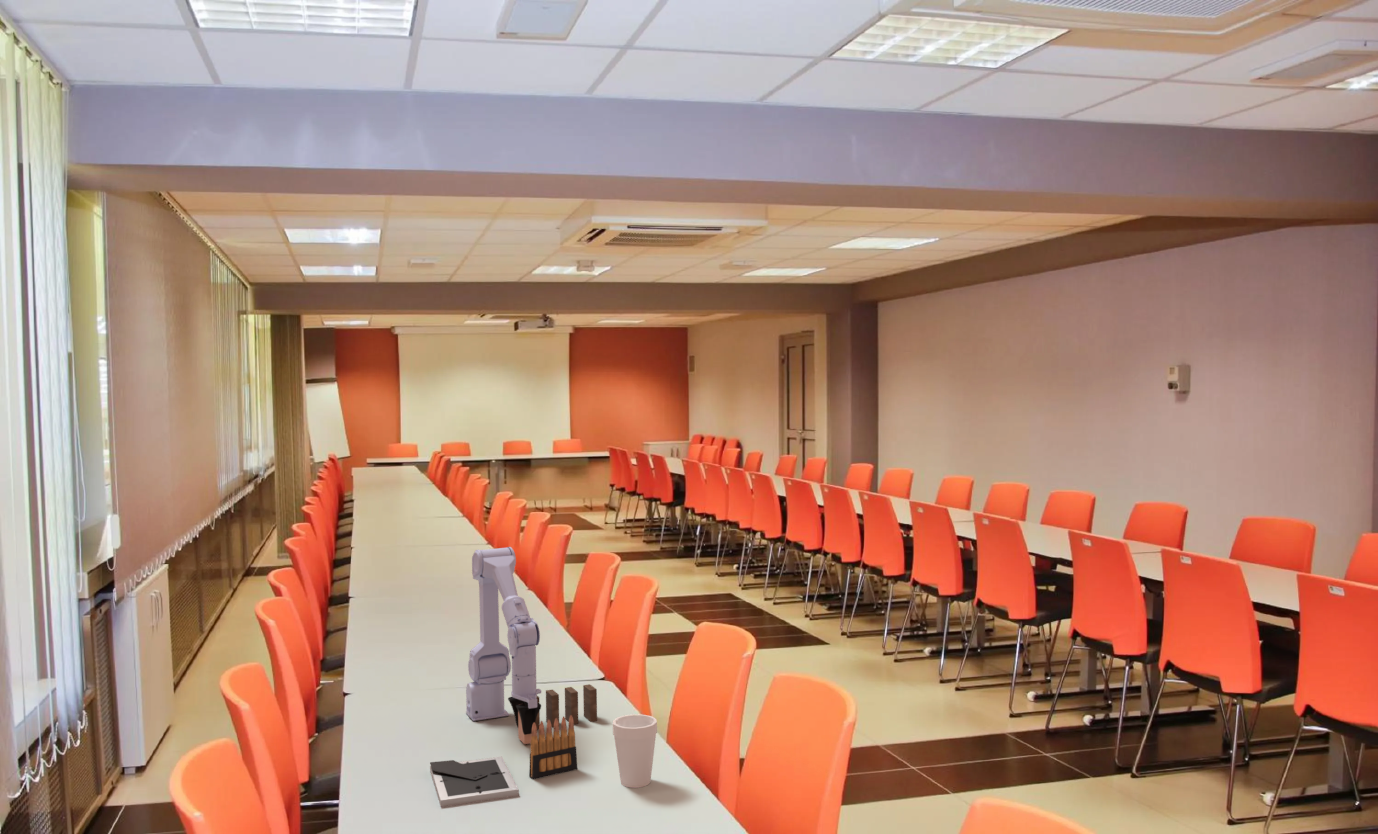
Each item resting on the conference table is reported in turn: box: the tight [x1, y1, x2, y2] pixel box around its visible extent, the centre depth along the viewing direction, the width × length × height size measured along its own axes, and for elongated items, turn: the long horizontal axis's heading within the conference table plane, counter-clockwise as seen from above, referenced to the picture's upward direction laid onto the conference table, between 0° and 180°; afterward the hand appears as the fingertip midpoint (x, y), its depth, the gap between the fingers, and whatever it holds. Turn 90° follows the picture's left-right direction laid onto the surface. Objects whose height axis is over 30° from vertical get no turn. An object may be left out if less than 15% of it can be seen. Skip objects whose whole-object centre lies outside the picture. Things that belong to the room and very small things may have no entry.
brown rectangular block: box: [535, 695, 541, 731], centre depth 255 cm, size 2×5×8 cm, turn 25°
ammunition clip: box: [528, 715, 578, 780], centre depth 224 cm, size 11×2×12 cm, turn 123°
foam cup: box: [612, 713, 658, 789], centre depth 219 cm, size 10×9×13 cm
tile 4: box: [564, 686, 579, 725], centre depth 260 cm, size 2×5×8 cm, turn 25°
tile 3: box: [545, 689, 560, 729], centre depth 258 cm, size 2×5×8 cm, turn 25°
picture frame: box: [429, 756, 520, 808], centre depth 219 cm, size 16×3×21 cm
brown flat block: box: [582, 684, 598, 723], centre depth 262 cm, size 2×5×8 cm, turn 25°
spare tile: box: [517, 704, 532, 745], centre depth 244 cm, size 2×5×8 cm, turn 25°
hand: (524, 730), depth 244 cm, fingers closed on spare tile, 5 cm apart
